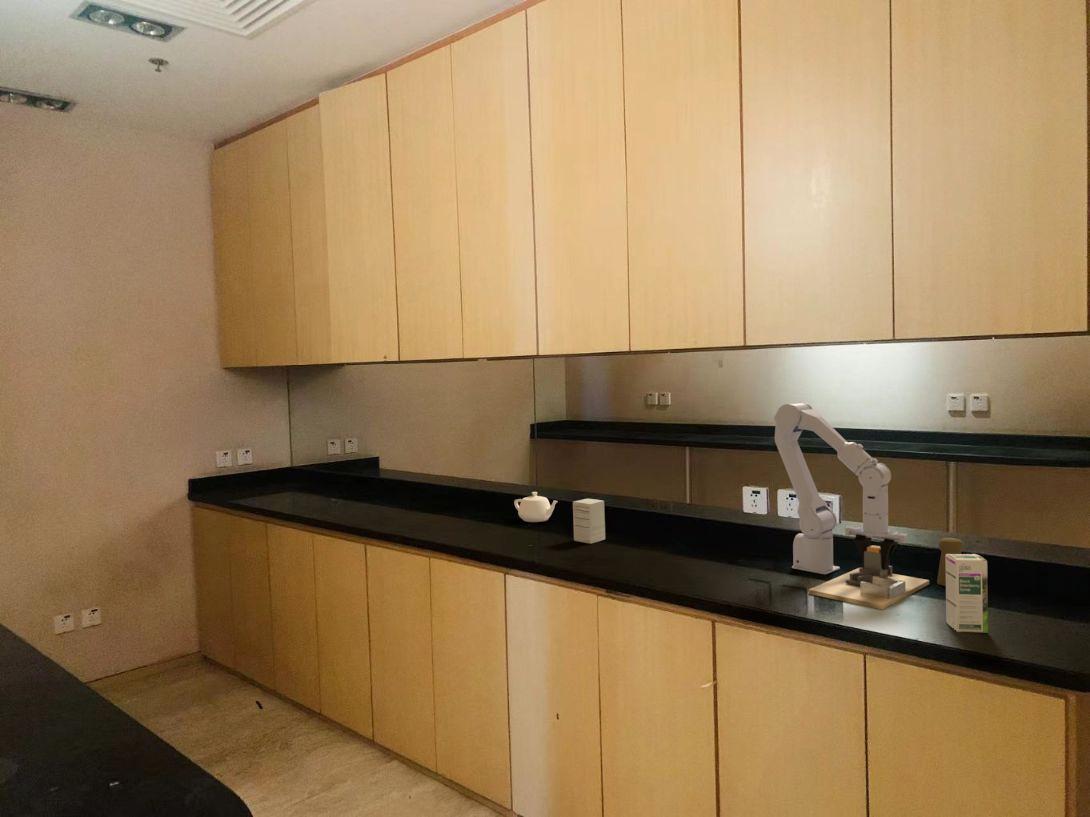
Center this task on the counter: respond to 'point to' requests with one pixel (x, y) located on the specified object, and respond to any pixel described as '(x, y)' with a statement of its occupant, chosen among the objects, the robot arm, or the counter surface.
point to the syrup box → (966, 592)
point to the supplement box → (589, 520)
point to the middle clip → (860, 577)
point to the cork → (947, 548)
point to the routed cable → (856, 582)
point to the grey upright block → (874, 559)
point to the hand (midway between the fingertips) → (875, 567)
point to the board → (852, 594)
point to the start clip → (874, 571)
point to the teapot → (534, 508)
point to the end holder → (883, 587)
